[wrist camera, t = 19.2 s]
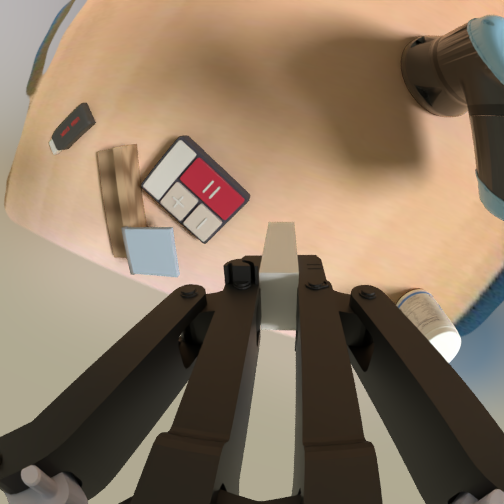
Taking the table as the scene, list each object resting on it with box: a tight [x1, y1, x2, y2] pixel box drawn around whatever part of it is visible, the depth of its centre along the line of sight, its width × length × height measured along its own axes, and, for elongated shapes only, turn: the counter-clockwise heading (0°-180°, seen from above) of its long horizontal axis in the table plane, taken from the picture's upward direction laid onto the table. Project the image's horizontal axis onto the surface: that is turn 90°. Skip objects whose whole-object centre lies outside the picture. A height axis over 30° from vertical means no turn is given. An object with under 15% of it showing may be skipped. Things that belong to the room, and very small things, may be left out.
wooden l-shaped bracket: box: [97, 144, 147, 258], centre depth 46 cm, size 21×8×6 cm, turn 2°
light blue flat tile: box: [121, 226, 180, 277], centre depth 44 cm, size 8×10×1 cm
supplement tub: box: [396, 289, 461, 363], centre depth 44 cm, size 10×10×15 cm
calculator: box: [141, 136, 250, 244], centre depth 45 cm, size 11×4×15 cm
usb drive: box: [49, 103, 96, 155], centre depth 43 cm, size 5×12×3 cm, turn 117°
